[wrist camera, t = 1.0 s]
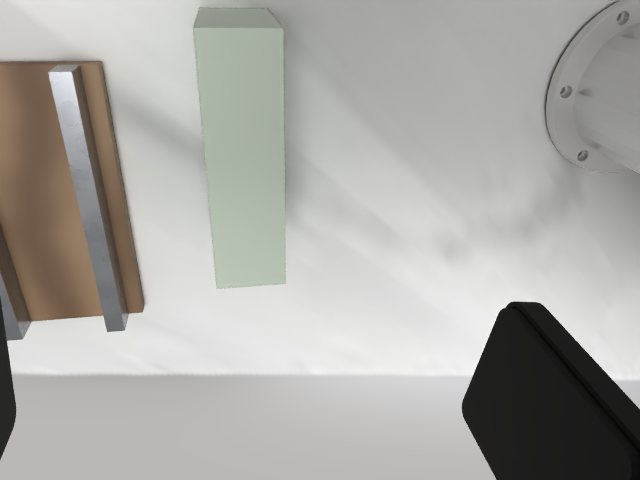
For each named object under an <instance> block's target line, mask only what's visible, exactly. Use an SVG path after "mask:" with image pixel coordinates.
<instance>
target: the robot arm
mask: <svg viewBox="0 0 640 480" xmlns="http://www.w3.org/2000/svg"><path fill="white" fill-rule="evenodd" d="M546 120H547V127H548V130H549V134H550V137H551V140H552V141H553V143H554V145H555V147H556V148H557V150H558V151H559V152H560V153H561V154H562V155H563V156H564V157H565V158H566V159H567V160H569V161H571V162H572V163H574V164H575V165H577V166H579V167H581V168H584V169H586V170H588V171H593V172H599V173H611V172H619V171H624V170H628V169H631V170H633V171H634V172H636V173H638V174H640V0H621V1H619V2H616V3H615V4H613V5H612V6H610V7H608V8H607V9H605V10H604V11H602V12H601V13H599V14H598V15H597V16H596V17H595V18H593V19H592V20H591V21H590V22H589V23H588V24H587V25H585V26H584V27H583V29H582V30H581V31H580V32H579V33H578V34H577V36H576V37H575V38H574V39H573V40H572V41H571V43H570V44H569V46H568V48H567V49H566V51H565V52H564V54H563V55H562V57H561V58H560V61H559V63H558V65H557V67H556V69H555V72H554V74H553V76H552V80H551V83H550V87H549V90H548V94H547V103H546ZM462 413H463V417H464V419H465V421H466V423H467V425H468V427H469V429H470V431H471V432H472V434H473V436H474V438H475V440H476V442H477V444H478V446H479V447H480V449H481V451H482V453H483V455H484V457H485V459H486V460H487V462H488V464H489V466H490V468H491V470H492V472H493V473H494V475H495V477H496V479H497V480H640V409H639V408H638V407H637V406H636V405H635V404H634V403H633V402H632V401H631V399H629V397H628V396H627V395H626V394H625V393H624V392H623V391H622V390H621V389H620V388H619V386H618V385H617V384H616V383H615V382H614V381H613V380H612V379H611V378H610V377H609V376H608V375H607V374H606V372H605V371H604V370H603V369H602V368H601V367H600V366H599V365H598V364H597V363H596V362H595V361H594V360H593V358H592V357H591V356H590V355H589V354H588V353H587V352H586V351H585V350H584V349H583V348H582V347H581V345H580V344H579V343H578V342H577V341H576V340H575V339H574V338H573V337H572V336H571V335H570V334H569V333H568V331H567V330H566V329H565V328H564V327H563V326H562V325H561V324H560V323H559V322H558V321H557V320H556V319H555V317H554V316H553V315H552V314H551V313H550V312H549V311H548V310H547V309H546V308H545V307H544V306H543V305H542V304H541V303H537V302H511V303H509V304H508V305H507V307H506V308H504V309H502V310H501V311H500V312H499V314H498V317H497V319H496V321H495V324H494V326H493V329H492V331H491V334H490V336H489V338H488V341H487V343H486V346H485V348H484V351H483V353H482V355H481V358H480V360H479V363H478V365H477V367H476V370H475V372H474V375H473V377H472V380H471V382H470V385H469V387H468V389H467V392H466V394H465V397H464V399H463V403H462ZM15 418H16V403H15V396H14V389H13V382H12V375H11V367H10V360H9V353H8V346H7V339H6V332H5V325H4V318H3V311H2V304H1V297H0V459H1V456H2V454H3V452H4V449H5V447H6V445H7V442H8V440H9V437H10V435H11V432H12V430H13V427H14V423H15Z"/></svg>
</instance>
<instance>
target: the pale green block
mask: <svg viewBox="0 0 640 480" xmlns="http://www.w3.org/2000/svg"><path fill="white" fill-rule="evenodd" d="M193 32H194V43H195V54H196V65H197V76H198V87H199V99H200V110H201V121H202V132H203V143H204V154H205V165H206V177H207V188H208V199H209V210H210V221H211V232H212V243H213V255H214V266H215V277H216V288H217V289H223V288H236V287H249V286H262V285H275V284H286V255H285V147H284V40H283V27H282V26H281V25H280V23H279V22H278V21H277V20H276V19H275V17H274V16H273V15H272V14H271V12H270V11H269V10H268V9H267V8H199V11H198V14H197V17H196V20H195V23H194V27H193Z"/></svg>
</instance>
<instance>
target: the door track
mask: <svg viewBox="0 0 640 480" xmlns="http://www.w3.org/2000/svg"><path fill="white" fill-rule="evenodd" d="M0 297H1V304H2V311H3V318H4V325H5V332H6V339H7V341H8V340H20V339H23V338H24V336H25V334H26V332H27V330H28V328H29V326H30V324H31V322H32V321H42V320H54V319H67V318H79V317H91V316H103V315H104V320H105V324H106V328H107V332H112V331H123V330H125V328H126V324H127V319H128V315H129V313H140V312H143V309H144V299H143V294H142V288H141V282H140V277H139V271H138V265H137V260H136V254H135V248H134V243H133V237H132V231H131V226H130V220H129V214H128V209H127V203H126V197H125V192H124V186H123V180H122V175H121V169H120V163H119V158H118V152H117V146H116V141H115V135H114V129H113V124H112V118H111V112H110V107H109V101H108V95H107V90H106V84H105V78H104V73H103V67H102V61H95V62H0Z"/></svg>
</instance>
